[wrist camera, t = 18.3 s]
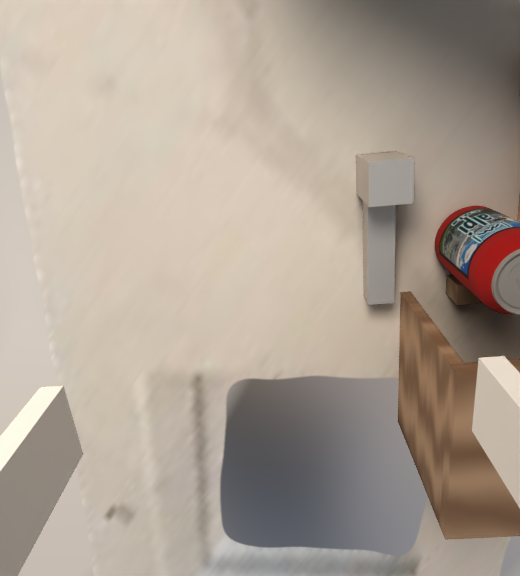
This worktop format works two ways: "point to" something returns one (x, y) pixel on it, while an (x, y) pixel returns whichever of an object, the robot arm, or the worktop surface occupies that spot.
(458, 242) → the beverage can
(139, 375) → the worktop surface
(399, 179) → the grey hooked tool
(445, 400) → the shelf
